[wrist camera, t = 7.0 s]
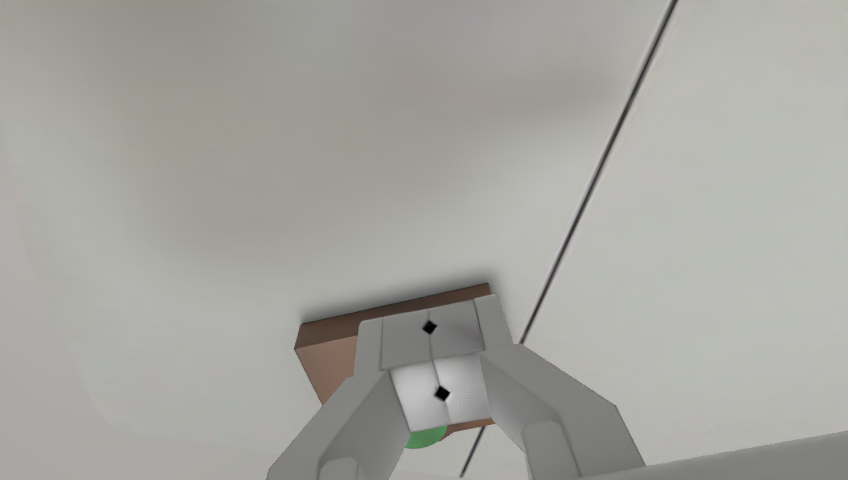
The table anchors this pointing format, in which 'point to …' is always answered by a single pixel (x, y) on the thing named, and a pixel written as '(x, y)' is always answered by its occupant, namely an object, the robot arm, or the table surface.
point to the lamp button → (425, 437)
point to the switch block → (337, 341)
